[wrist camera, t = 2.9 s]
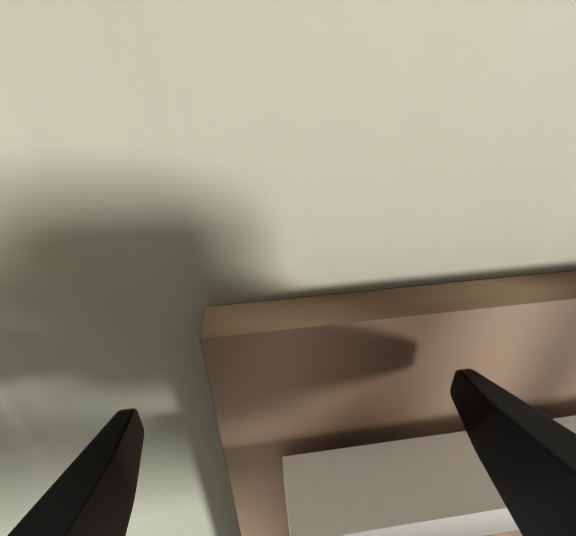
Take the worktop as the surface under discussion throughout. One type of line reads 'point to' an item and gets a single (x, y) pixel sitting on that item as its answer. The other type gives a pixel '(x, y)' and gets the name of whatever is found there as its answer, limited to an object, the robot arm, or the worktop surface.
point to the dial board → (375, 371)
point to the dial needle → (396, 490)
